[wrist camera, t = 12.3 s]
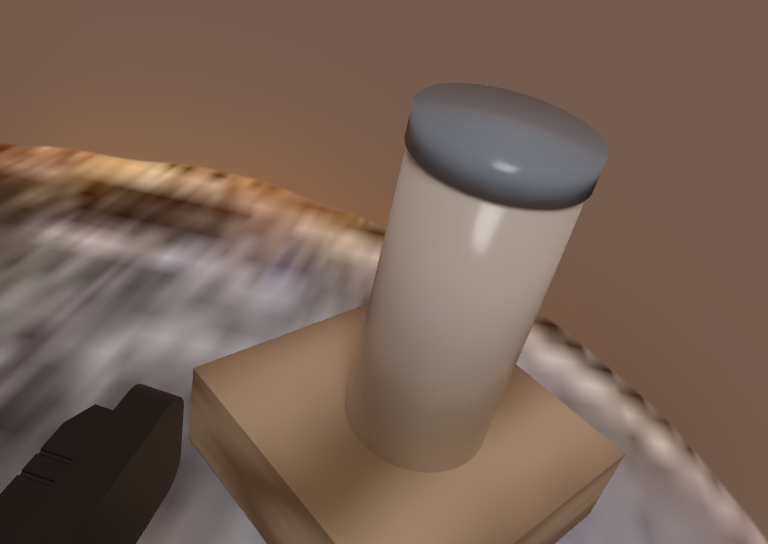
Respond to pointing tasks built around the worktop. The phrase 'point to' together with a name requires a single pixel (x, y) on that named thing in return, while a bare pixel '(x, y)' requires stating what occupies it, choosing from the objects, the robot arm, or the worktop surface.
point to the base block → (374, 475)
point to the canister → (465, 267)
